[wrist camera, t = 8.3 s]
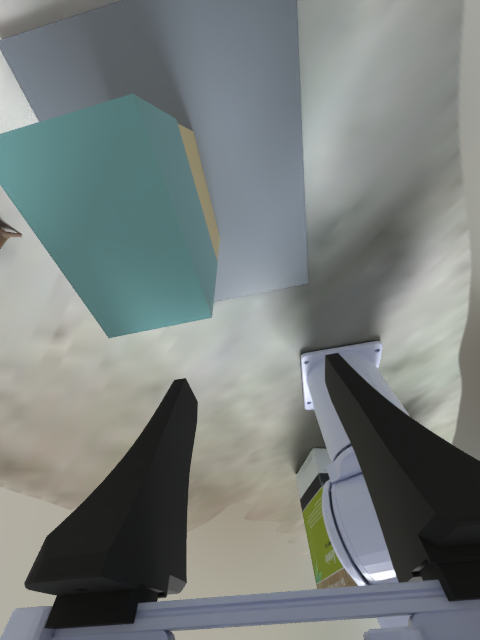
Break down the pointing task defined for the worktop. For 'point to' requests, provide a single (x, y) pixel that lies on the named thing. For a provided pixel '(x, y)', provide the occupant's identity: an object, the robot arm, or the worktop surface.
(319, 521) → the tea box
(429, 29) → the worktop surface
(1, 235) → the fruit
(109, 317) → the teal brick
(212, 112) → the baseplate
